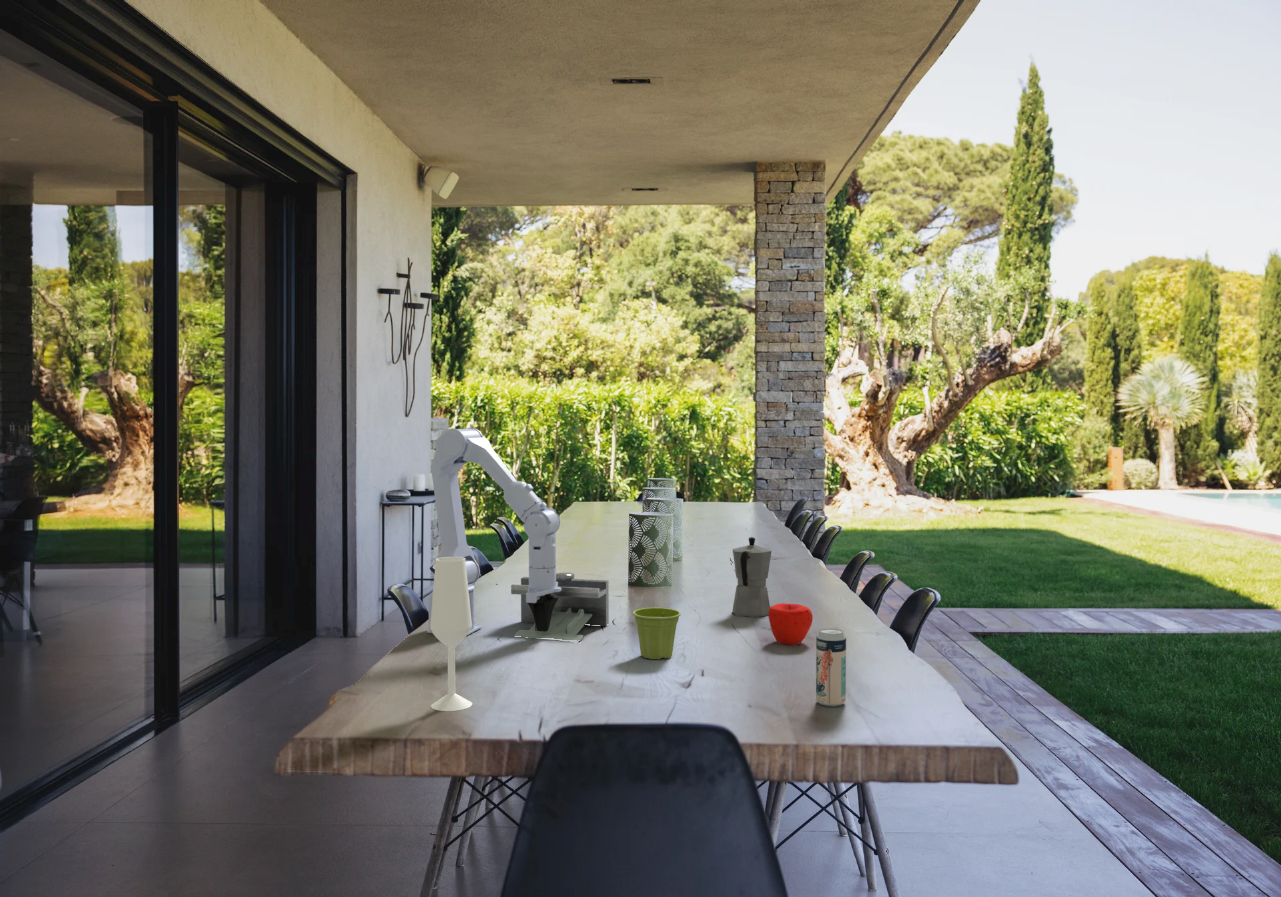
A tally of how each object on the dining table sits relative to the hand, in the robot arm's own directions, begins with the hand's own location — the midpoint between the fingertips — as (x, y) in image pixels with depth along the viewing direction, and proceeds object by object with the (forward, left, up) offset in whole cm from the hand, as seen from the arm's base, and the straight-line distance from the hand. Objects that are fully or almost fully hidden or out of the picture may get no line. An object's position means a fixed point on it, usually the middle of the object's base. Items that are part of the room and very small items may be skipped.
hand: (542, 630), depth 215 cm
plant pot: (+27, -10, -2) cm, 29 cm away
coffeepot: (+39, +36, -2) cm, 53 cm away
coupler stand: (0, +12, -2) cm, 12 cm away
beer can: (+62, -34, -2) cm, 70 cm away
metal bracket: (+2, +5, -2) cm, 6 cm away
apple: (+51, +8, -2) cm, 52 cm away
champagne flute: (+2, -50, -2) cm, 50 cm away
